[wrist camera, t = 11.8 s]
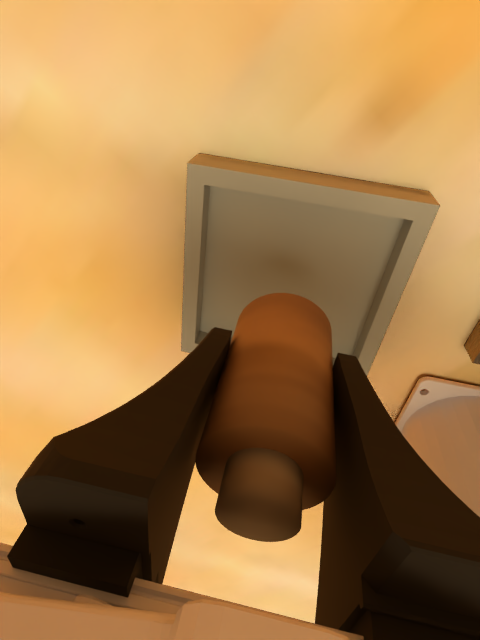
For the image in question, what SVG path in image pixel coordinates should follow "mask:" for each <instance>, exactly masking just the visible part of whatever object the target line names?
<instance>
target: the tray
mask: <svg viewBox="0 0 480 640" xmlns="http://www.w3.org/2000/svg"><path fill="white" fill-rule="evenodd" d="M439 207H440V205H439V203H438V202H437V201H436V200H435V198H434V197H433V196H432V194H431V193H430V192H429V191H424V190H418V189H412V188H406V187H400V186H394V185H388V184H382V183H376V182H370V181H364V180H358V179H352V178H346V177H340V176H334V175H328V174H322V173H316V172H310V171H304V170H298V169H292V168H286V167H280V166H274V165H268V164H262V163H256V162H250V161H244V160H237V159H231V158H225V157H219V156H213V155H207V154H201V153H199V154H198V155H196V156H195V157H194V158H193V159H192V160H190V161H189V162H188V163H187V189H186V219H185V249H184V278H183V308H182V338H181V351H184V352H188V353H191V352H192V351H193V350H194V349H195V348H196V347H197V346H198V345H199V344H200V342H201V341H202V340H203V339H204V338H205V337H206V336H207V334H208V333H209V332H210V330H211V329H213V328H214V327H217V328H222V329H227V330H231V331H232V336H231V341H232V337H233V334H234V331H235V328H236V325H237V322H238V319H239V316H240V314H241V312H242V311H243V309H244V308H245V307H246V306H247V305H248V304H249V303H250V302H252V301H253V300H255V299H257V298H259V297H261V296H264V295H267V294H272V293H290V294H295V295H299V296H302V297H304V298H306V299H308V300H310V301H312V302H313V303H315V304H316V305H317V306H319V307H320V308H321V309H322V311H323V312H324V313H325V314H326V316H327V318H328V320H329V322H330V325H331V331H332V357H333V365H334V362H335V359H336V356H337V354H338V353H342V354H347V355H352V356H356V357H357V359H358V360H359V362H360V364H361V366H362V368H363V370H364V372H365V374H366V376H367V375H368V372H369V370H370V368H371V365H372V363H373V361H374V358H375V356H376V354H377V351H378V349H379V347H380V344H381V342H382V340H383V337H384V335H385V333H386V330H387V328H388V326H389V323H390V321H391V319H392V316H393V314H394V312H395V309H396V307H397V305H398V302H399V300H400V298H401V296H402V293H403V291H404V289H405V286H406V284H407V282H408V279H409V277H410V275H411V272H412V270H413V268H414V265H415V263H416V261H417V258H418V256H419V254H420V251H421V249H422V247H423V244H424V242H425V240H426V237H427V235H428V233H429V230H430V228H431V226H432V223H433V221H434V219H435V216H436V214H437V212H438V209H439ZM230 344H231V343H230Z"/></svg>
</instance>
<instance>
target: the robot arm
mask: <svg viewBox="0 0 480 640" xmlns="http://www.w3.org/2000/svg"><path fill="white" fill-rule="evenodd" d="M231 336H232V331H231V330H227V329H222V328H217V327H214V328H213V329H211V330H210V332H209V333H208V334H207V336H206V337H205V338H204V339H203V340H202V341H201V342H200V344H199V345H198V346H197V347H196V348H195V349H194V350H193V351H192V352H191V353H190V354H189V355H188V356H187V357H186V358H185V359H184V360H183V361H182V362H181V363H179V364H178V365H177V366H176V367H175V368H174V369H173V370H171V371H170V372H169V373H168V374H167V375H166V376H164V377H163V378H162V379H161V380H159V381H158V382H157V383H155V384H154V385H153V386H151V387H150V388H148V389H147V390H146V391H144V392H143V393H141V394H140V395H138V396H137V397H135V398H133V399H132V400H130V401H129V402H127V403H125V404H124V405H122V406H120V407H119V408H117V409H115V410H113V411H111V412H109V413H107V414H105V415H103V416H101V417H99V418H98V419H96V420H94V421H92V422H89V423H87V424H85V425H83V426H80V427H78V428H75V429H73V430H71V431H68V432H66V433H63V434H61V435H58V436H55V437H53V439H52V440H51V441H50V442H49V443H48V444H47V445H46V447H45V448H44V449H43V450H42V451H41V452H40V453H39V454H38V456H37V457H36V458H35V460H34V461H33V462H32V464H31V465H30V467H29V468H28V470H27V471H26V472H25V474H24V475H23V477H22V478H21V479H20V481H19V482H18V484H17V487H16V494H17V499H18V502H19V504H20V507H21V509H22V512H23V514H24V517H25V519H26V522H27V525H26V526H25V528H24V530H23V531H22V533H21V534H20V536H19V538H18V539H17V541H16V542H15V544H14V546H11V545H7V544H3V543H0V640H480V387H479V386H474V385H469V384H464V383H459V382H454V381H449V380H444V379H439V378H434V377H428V376H426V377H422V378H420V379H419V380H418V382H417V384H416V385H415V387H414V389H413V391H412V393H411V395H410V396H409V398H408V400H407V402H406V404H405V406H404V407H403V409H402V411H401V413H400V415H399V417H398V418H397V420H396V422H395V423H394V422H393V420H392V419H391V417H390V416H389V414H388V412H387V411H386V409H385V408H384V406H383V404H382V403H381V401H380V399H379V398H378V396H377V394H376V392H375V391H374V389H373V387H372V385H371V383H370V382H369V380H368V378H367V376H366V374H365V372H364V370H363V368H362V366H361V364H360V362H359V360H358V359H357V357H356V356H352V355H347V354H342V353H338V354H337V356H336V359H335V362H334V365H333V388H334V420H335V451H336V485H335V487H334V490H333V491H332V493H331V494H330V495H329V497H328V498H327V499H325V500H324V506H323V527H322V543H321V558H320V571H319V584H318V596H317V607H316V617H315V624H314V623H310V622H306V621H302V620H298V619H295V618H291V617H287V616H283V615H279V614H275V613H271V612H267V611H264V610H260V609H256V608H252V607H248V606H244V605H240V604H236V603H232V602H229V601H225V600H221V599H217V598H213V597H209V596H205V595H201V594H197V593H194V592H190V591H186V590H182V589H178V588H174V587H170V586H166V585H163V584H162V583H163V579H164V575H165V571H166V567H167V564H168V560H169V556H170V552H171V548H172V545H173V541H174V537H175V533H176V530H177V526H178V522H179V518H180V515H181V511H182V508H183V504H184V500H185V497H186V493H187V489H188V486H189V482H190V479H191V475H192V472H193V468H194V465H195V462H196V453H197V449H198V446H199V443H200V440H201V436H202V433H203V430H204V427H205V424H206V420H207V417H208V414H209V411H210V408H211V404H212V401H213V398H214V395H215V392H216V388H217V385H218V382H219V379H220V376H221V373H222V369H223V367H224V364H225V360H226V357H227V354H228V351H229V348H230V343H231ZM423 389H426V390H424V391H421V390H423Z"/></svg>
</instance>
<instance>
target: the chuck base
mask: <svg viewBox="0 0 480 640" xmlns="http://www.w3.org/2000/svg"><path fill="white" fill-rule="evenodd" d="M464 346H465V348H466V350H467V352H468V354H469V356H470V358H471V361H472V363H476V364H480V320H479V322H478V323H477V325H476V327H475V328H474V330H473V332H472V333H471V335H470V337H469V338H468V340H467V342H466V343H465V345H464Z"/></svg>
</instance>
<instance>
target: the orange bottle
mask: <svg viewBox="0 0 480 640" xmlns="http://www.w3.org/2000/svg"><path fill="white" fill-rule="evenodd" d="M196 467H197V470H198V472H199V474H200V476H201V477H202V479H203V480H204V481H205V483H206V484H207V485H208V486H209V487H210V488H211V489H213V490H214V491H215V492H216V493H218V494H219V495H218V499H217V503H216V508H215V514H216V517H217V519H218V520H219V522H220V523H221V524H222V525H223V526H224V527H225V528H227V529H228V530H230V531H231V532H233V533H235V534H237V535H240V536H242V537H245V538H248V539H252V540H257V541H265V542H276V541H283V540H287V539H290V538H292V537H294V536H295V535H296V534H297V533H298V532H299V531H300V529H301V518H302V510H304V509H308V508H311V507H313V506H316V505H318V504H319V503H321V502H323V501H324V500H325V499H327V498H328V497H329V495H330V494H331V493H332V491H333V490H334V487H335V485H336V451H335V420H334V388H333V357H332V331H331V325H330V322H329V320H328V318H327V316H326V314H325V313H324V312H323V311H322V309H321V308H320V307H319V306H317V305H316V304H315V303H313V302H312V301H310V300H308V299H306V298H304V297H302V296H299V295H295V294H290V293H272V294H267V295H264V296H261V297H259V298H257V299H255V300H253V301H252V302H250V303H249V304H248V305H247V306H246V307H245V308H244V309H243V311H242V312H241V314H240V316H239V319H238V322H237V325H236V328H235V331H234V334H233V337H232V341H231V344H230V348H229V351H228V354H227V357H226V360H225V364H224V367H223V369H222V373H221V376H220V379H219V382H218V385H217V388H216V392H215V395H214V398H213V401H212V404H211V408H210V411H209V414H208V417H207V420H206V424H205V427H204V430H203V433H202V436H201V440H200V443H199V446H198V449H197V453H196Z"/></svg>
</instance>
